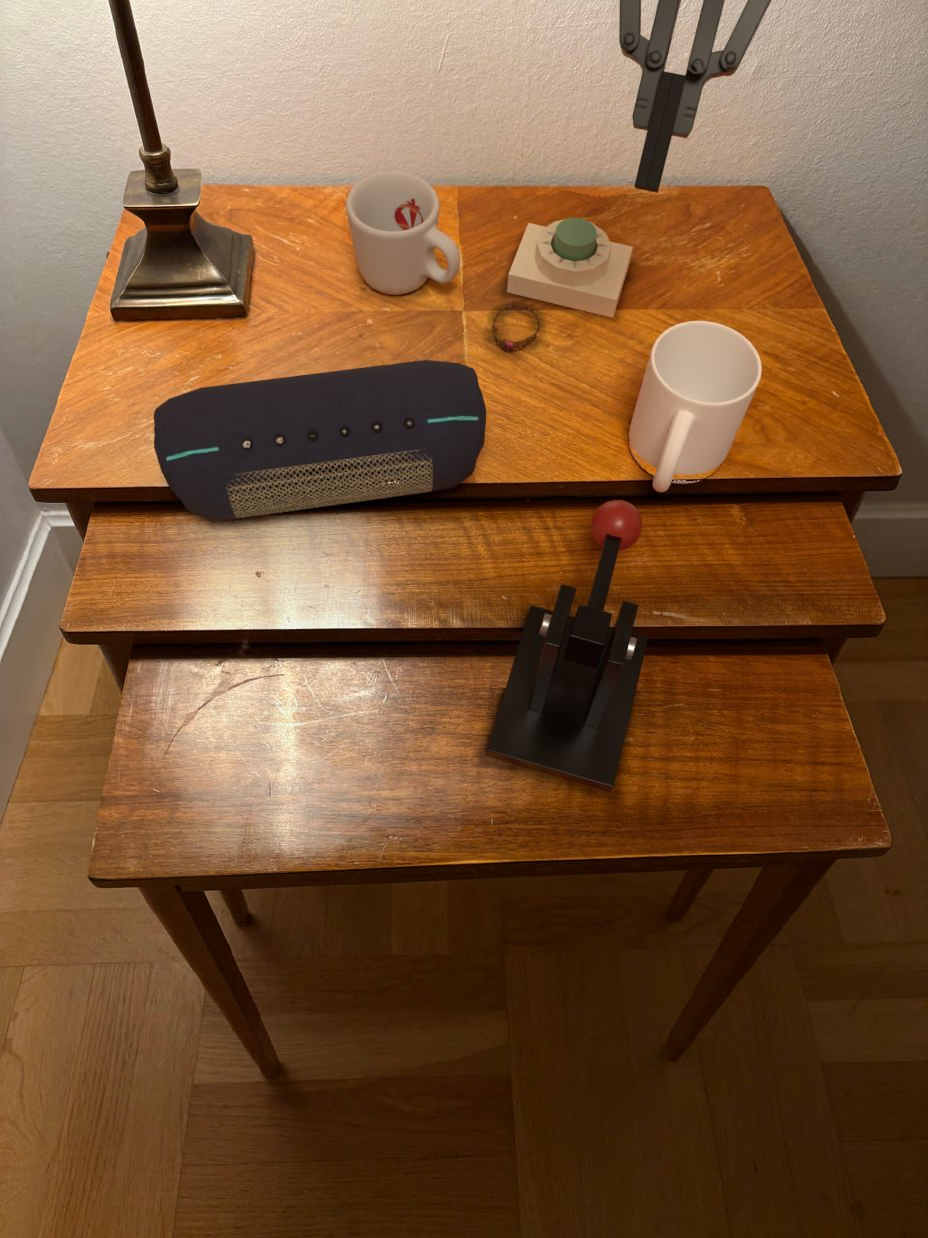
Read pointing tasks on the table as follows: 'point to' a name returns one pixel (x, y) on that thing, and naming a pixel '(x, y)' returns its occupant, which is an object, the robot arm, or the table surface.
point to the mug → (693, 399)
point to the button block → (569, 272)
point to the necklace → (509, 345)
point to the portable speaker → (321, 438)
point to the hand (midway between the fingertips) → (646, 188)
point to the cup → (398, 233)
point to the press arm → (602, 580)
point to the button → (575, 239)
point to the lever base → (568, 698)
